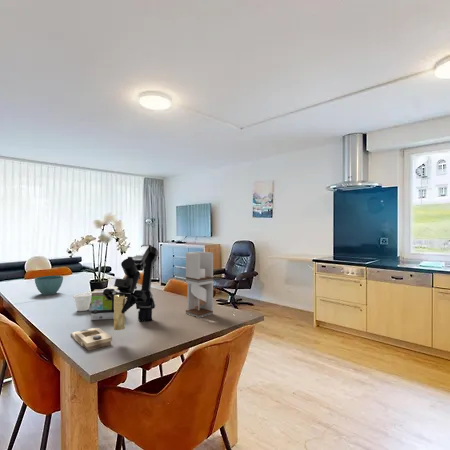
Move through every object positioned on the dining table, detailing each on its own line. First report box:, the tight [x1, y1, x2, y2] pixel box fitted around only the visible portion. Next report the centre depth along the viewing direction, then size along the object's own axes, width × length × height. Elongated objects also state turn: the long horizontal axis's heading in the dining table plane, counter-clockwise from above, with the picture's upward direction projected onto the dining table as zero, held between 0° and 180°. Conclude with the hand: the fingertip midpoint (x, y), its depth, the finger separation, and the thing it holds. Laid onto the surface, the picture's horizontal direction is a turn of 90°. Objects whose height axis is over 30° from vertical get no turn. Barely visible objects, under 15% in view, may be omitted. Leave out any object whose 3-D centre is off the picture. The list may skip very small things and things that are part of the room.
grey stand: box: [185, 251, 214, 318], centre depth 171 cm, size 11×11×35 cm
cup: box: [73, 292, 92, 312], centre depth 178 cm, size 10×10×9 cm
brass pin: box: [113, 294, 126, 331], centre depth 127 cm, size 4×4×14 cm
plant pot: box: [34, 275, 64, 296], centre depth 222 cm, size 18×18×12 cm
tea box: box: [90, 288, 119, 321], centre depth 165 cm, size 15×10×15 cm, turn 105°
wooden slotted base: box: [70, 327, 113, 351], centre depth 130 cm, size 10×22×4 cm, turn 42°
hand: (117, 312), depth 126 cm, fingers closed on brass pin, 4 cm apart
